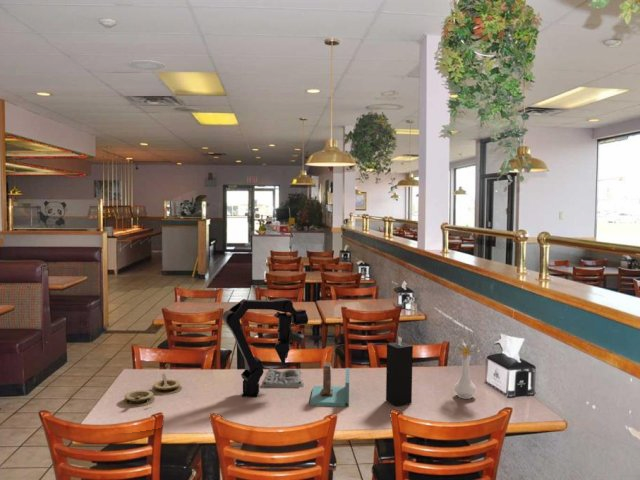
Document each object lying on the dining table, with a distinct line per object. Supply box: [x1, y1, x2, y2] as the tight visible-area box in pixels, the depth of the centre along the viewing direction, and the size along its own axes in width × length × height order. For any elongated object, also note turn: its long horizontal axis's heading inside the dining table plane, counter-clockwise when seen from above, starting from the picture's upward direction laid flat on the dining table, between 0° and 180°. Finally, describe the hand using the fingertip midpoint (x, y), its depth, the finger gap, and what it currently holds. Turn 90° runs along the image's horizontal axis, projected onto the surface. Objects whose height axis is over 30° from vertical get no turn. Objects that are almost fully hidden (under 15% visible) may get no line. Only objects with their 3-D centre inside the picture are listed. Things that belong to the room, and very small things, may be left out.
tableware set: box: [121, 373, 183, 411], centre depth 238 cm, size 30×20×6 cm, turn 152°
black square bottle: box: [385, 335, 414, 407], centre depth 231 cm, size 8×8×28 cm
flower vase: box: [449, 338, 483, 400], centre depth 239 cm, size 13×18×25 cm
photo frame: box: [321, 361, 333, 396], centre depth 236 cm, size 5×6×13 cm
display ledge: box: [309, 367, 350, 408], centre depth 236 cm, size 16×20×10 cm
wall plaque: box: [261, 368, 305, 389], centre depth 260 cm, size 24×19×4 cm
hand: (284, 360), depth 246 cm, fingers open, 9 cm apart
